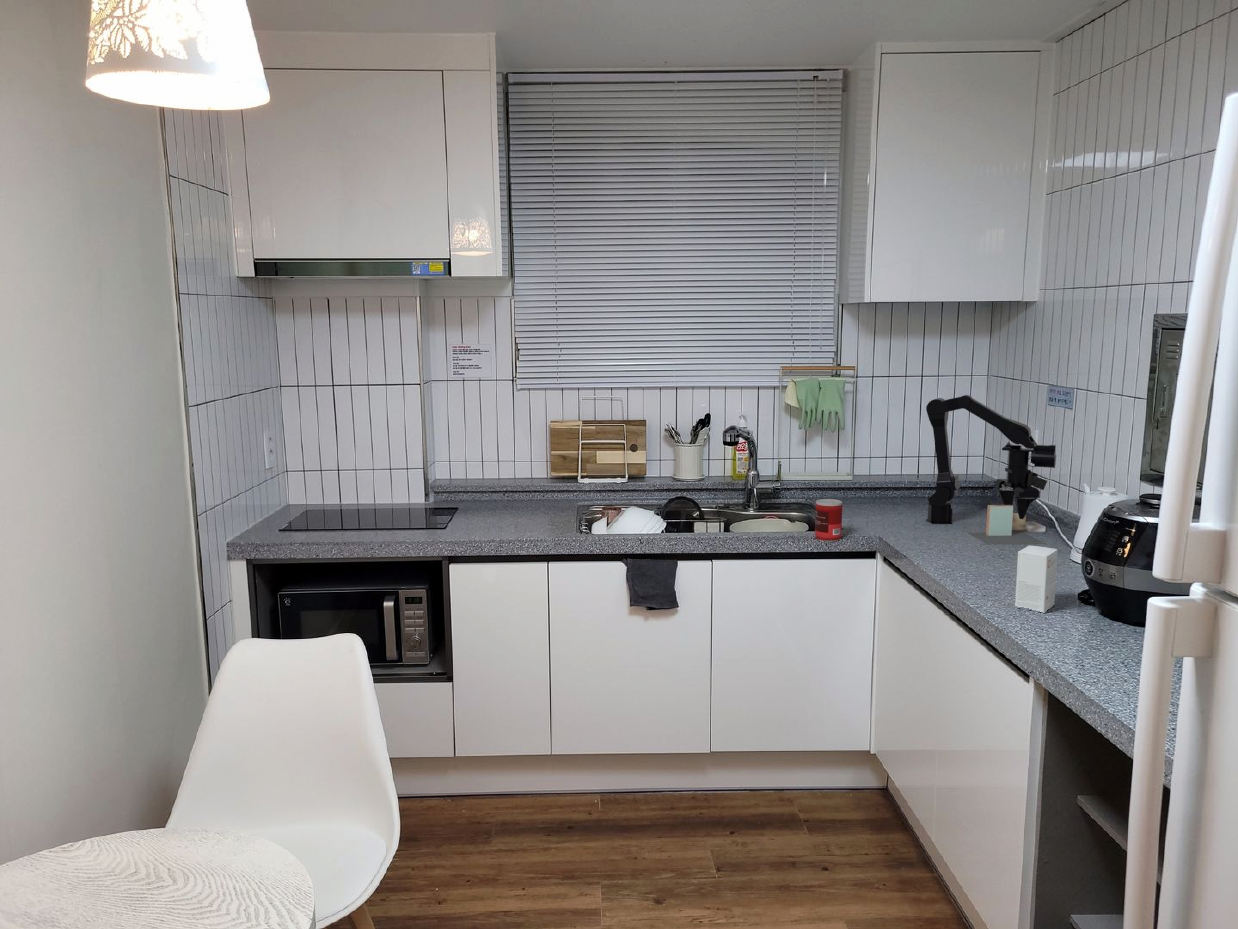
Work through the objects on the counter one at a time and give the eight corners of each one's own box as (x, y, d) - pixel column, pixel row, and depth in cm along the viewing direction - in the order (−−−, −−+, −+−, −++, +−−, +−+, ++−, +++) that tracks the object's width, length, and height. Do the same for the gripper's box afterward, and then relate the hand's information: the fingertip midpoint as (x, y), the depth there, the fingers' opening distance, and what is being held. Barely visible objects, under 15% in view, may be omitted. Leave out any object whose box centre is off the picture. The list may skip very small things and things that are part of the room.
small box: (1025, 600, 208) (1028, 544, 206) (1054, 605, 204) (1058, 548, 202) (1013, 608, 202) (1017, 551, 200) (1044, 614, 198) (1048, 555, 196)
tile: (988, 536, 271) (989, 506, 270) (985, 534, 273) (987, 505, 272) (1011, 535, 271) (1013, 506, 270) (1009, 534, 273) (1011, 504, 272)
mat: (987, 545, 261) (987, 544, 261) (967, 533, 276) (967, 532, 276) (1046, 545, 261) (1047, 544, 261) (1023, 533, 276) (1023, 532, 276)
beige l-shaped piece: (995, 533, 277) (996, 517, 276) (985, 527, 285) (986, 511, 284) (1045, 532, 277) (1046, 516, 276) (1033, 527, 285) (1034, 511, 284)
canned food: (842, 535, 274) (843, 499, 272) (839, 541, 266) (841, 504, 265) (816, 534, 276) (817, 498, 275) (813, 539, 269) (814, 503, 267)
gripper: (1059, 470, 269) (1055, 522, 271) (1030, 461, 287) (1027, 509, 289) (1021, 470, 268) (1018, 522, 271) (995, 461, 287) (992, 510, 289)
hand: (1014, 516), depth 280 cm, fingers open, 9 cm apart
